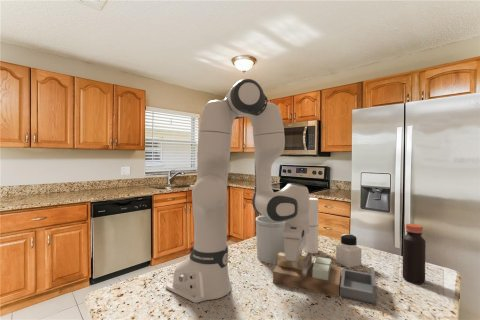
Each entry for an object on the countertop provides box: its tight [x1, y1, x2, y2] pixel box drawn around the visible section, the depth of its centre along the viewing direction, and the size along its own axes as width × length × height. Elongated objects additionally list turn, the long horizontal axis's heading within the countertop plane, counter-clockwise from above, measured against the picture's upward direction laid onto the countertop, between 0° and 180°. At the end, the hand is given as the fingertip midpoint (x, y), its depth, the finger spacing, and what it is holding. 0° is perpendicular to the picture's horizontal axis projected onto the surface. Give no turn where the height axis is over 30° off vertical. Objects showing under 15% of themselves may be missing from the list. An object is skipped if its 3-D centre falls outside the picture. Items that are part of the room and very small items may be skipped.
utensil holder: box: [255, 215, 285, 265], centre depth 110 cm, size 15×15×18 cm
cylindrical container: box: [302, 196, 319, 254], centre depth 119 cm, size 7×7×25 cm
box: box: [339, 266, 378, 306], centre depth 83 cm, size 10×14×6 cm
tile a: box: [312, 262, 330, 280], centre depth 85 cm, size 5×5×3 cm
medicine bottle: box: [335, 233, 362, 269], centre depth 105 cm, size 7×7×12 cm
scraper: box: [276, 252, 313, 277], centre depth 92 cm, size 12×12×4 cm
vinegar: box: [402, 223, 427, 285], centre depth 91 cm, size 7×7×20 cm
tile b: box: [314, 256, 332, 270], centre depth 91 cm, size 5×5×3 cm
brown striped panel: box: [272, 261, 342, 298], centre depth 90 cm, size 22×14×4 cm, turn 65°
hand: (296, 264), depth 92 cm, fingers closed on scraper, 3 cm apart
